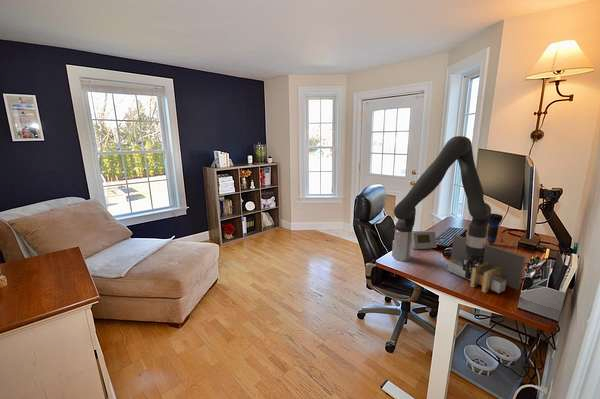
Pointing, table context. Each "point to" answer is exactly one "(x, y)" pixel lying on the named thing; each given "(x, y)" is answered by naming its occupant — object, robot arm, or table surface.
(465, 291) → the table surface
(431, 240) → the digital clock
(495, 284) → the grey slab
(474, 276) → the beige arch
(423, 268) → the table surface
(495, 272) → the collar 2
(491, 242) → the flashlight
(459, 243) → the firebox panel
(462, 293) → the table surface
